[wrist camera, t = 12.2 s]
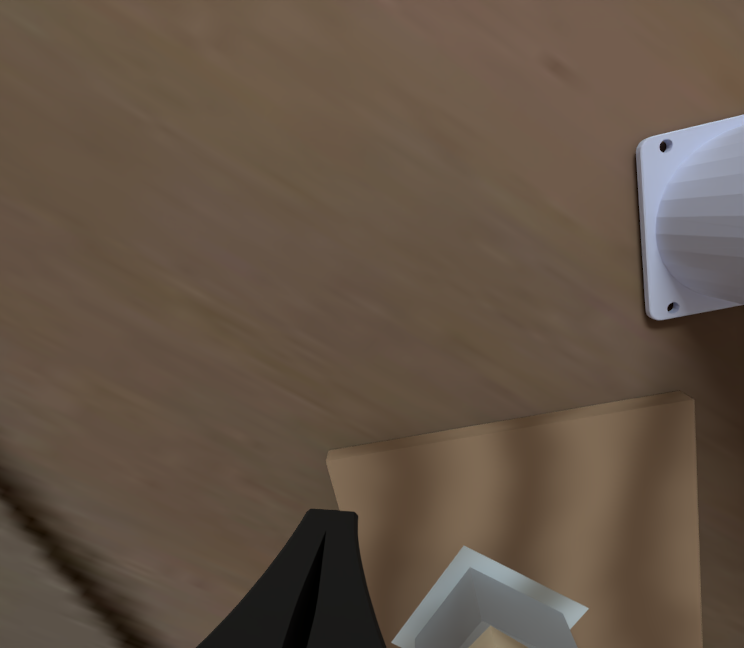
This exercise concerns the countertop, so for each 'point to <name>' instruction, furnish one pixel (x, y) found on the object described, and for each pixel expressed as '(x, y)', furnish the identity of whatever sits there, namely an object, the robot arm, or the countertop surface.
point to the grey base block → (493, 617)
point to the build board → (538, 519)
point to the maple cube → (495, 640)
